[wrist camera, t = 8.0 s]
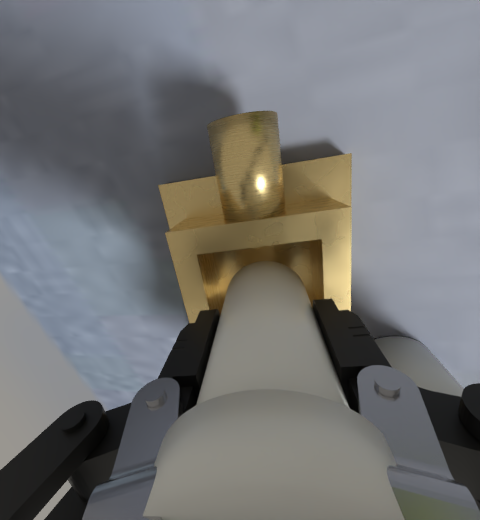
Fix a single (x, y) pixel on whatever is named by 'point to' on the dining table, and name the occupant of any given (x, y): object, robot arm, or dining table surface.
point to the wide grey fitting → (418, 364)
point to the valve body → (259, 216)
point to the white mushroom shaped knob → (271, 421)
